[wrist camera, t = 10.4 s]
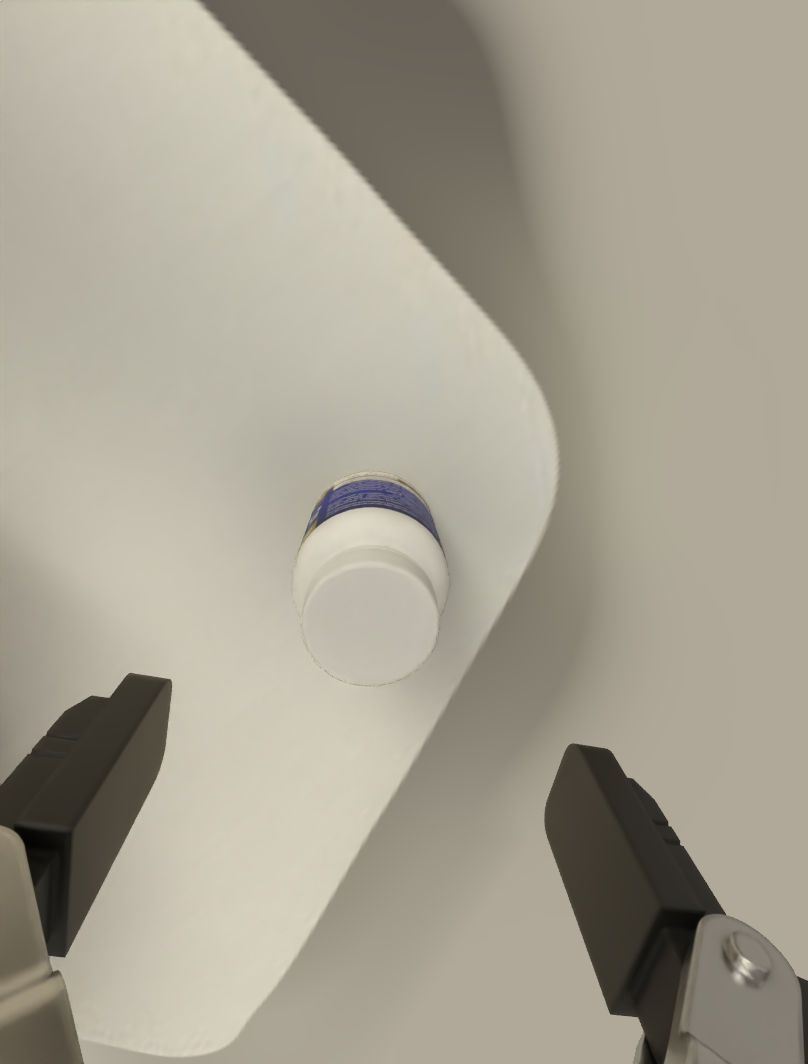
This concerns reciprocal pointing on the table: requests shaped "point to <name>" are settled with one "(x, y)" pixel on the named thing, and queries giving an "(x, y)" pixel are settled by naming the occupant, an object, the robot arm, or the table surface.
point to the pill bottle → (370, 580)
